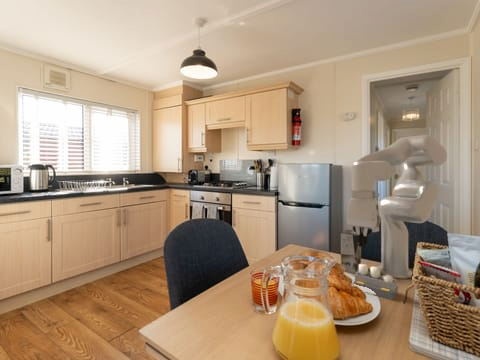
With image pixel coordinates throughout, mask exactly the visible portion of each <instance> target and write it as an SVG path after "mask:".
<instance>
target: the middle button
mask: <svg viewBox="0 0 480 360" xmlns="http://www.w3.org/2000/svg"><path fill="white" fill-rule="evenodd" d="M369 269H370V272H369V273H370V277H371V278H374V279H377V280H378V279H380V276H381V273H380V268H379V267H378V266H370V268H369Z"/></svg>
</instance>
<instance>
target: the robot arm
mask: <svg viewBox="0 0 480 360" xmlns="http://www.w3.org/2000/svg"><path fill="white" fill-rule="evenodd" d="M447 157H448V153H447V150H446V149H445V147H444V146H443V145H442V144H441V143H440V142H439V141H438V140H437V139H436V138H434V137H433V136H431V135H427V134H421V135H413V136H410V135H409V136H404V137H401V138H398V139H397V140H396V141H394V142H393V143H392V144H390V145H389V146H388V147H386V148H383V149H381V150H378V151H375V152H371V153H370V154H366V155H364V156H362V157H361V158H359V159H357V160H356V161H353V163H352V164H351V170H350V174H351V197H350V198H349V200H348V207H347V215H346V221H347V222H346V223H347V225H346V226H347V228H348V229H349V230H354V231H355V232H356V234H357V235H358V243H359V246H360V247H362V248H365V247H366V246H367V245H368V244H369V242H368V241H369V240H368V238H369V236H368V235H370V234H371V233H377V232H379V231H380V228H381V231H380V233H381V234H380V236H381V237H380V238H381V239H380V240H381V241H380V242H381V249H380V251H381V252H380V253H381V258H380V259H381V264H380V265H378V266H377V267H379V268H380V275H382V276H383V275H390V276H392V277H393V279H404V280H405V279H410V278H412V277H413V276H412V273H414V272H413V271H412V270H411V269H409V231H408V228H407V226H406V224H405V222H407V223H416V224H423V223H425V222H426V221H427V220H428V219H429V217H430V216H431V214H432V211H433V210H434V208H435V206H436V205H437V202H438V200H439V196H440V193H439V192H440V189H439V186H438V185H437V183H436V182H434V181H431V180H426V179H425V176H424V174H423V173H422V172H421V170H420V169H418V168H417V167H436V166H437V167H438V166H441V165H444V164H445V163H446V161H447ZM395 167H400V168H401V175H400V177H399V178H398V180H397V182H396V183H395V185H394V187H393V189H392V196H391V195H390V196H385V197H383V198H381V199H380V200H379V202H378V199H376V198H378V197H380V193H379V192H376V190H375V189H376V188H375V187H376V185H375V184H376V183H375V182H386V181H389V180H390V179H391V177H393V174H394V168H395ZM380 225H381V227H379V226H380Z"/></svg>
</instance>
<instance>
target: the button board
mask: <svg viewBox="0 0 480 360" xmlns="http://www.w3.org/2000/svg"><path fill="white" fill-rule="evenodd" d="M397 281H398V280H397V278H393V283H389V282H385V281H383V275H380V279H378V280H377V279H374V278H371V277H370V272H368V276H362V275H359V270H358V271H357V273H354V281H353V285H354V284H356V285H359V286H363V287H367V288H369V289H371V290H372V291H374V292H375V293H376V295H377V296H376V295H375V296H376V297H379V298H384V299H386V300H390V301H393V300H394V298H395V297H396V296H397V294H398V293H399V291H398V290H399V288H398V284H397V283H398V282H397Z"/></svg>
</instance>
